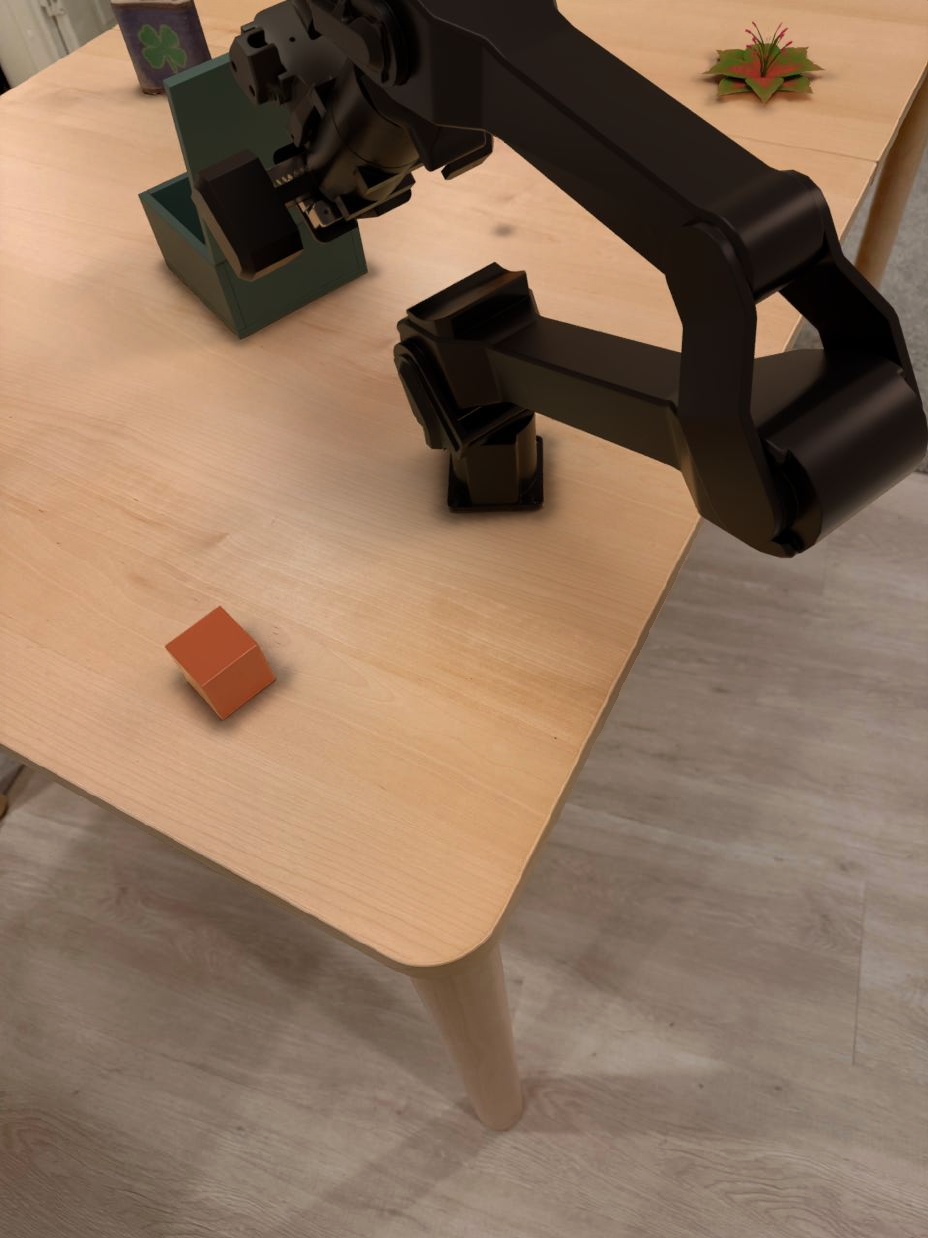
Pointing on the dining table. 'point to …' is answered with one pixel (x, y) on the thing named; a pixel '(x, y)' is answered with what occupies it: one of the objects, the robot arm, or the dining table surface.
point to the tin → (219, 284)
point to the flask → (161, 38)
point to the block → (221, 662)
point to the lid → (222, 125)
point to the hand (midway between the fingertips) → (320, 215)
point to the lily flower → (764, 68)
